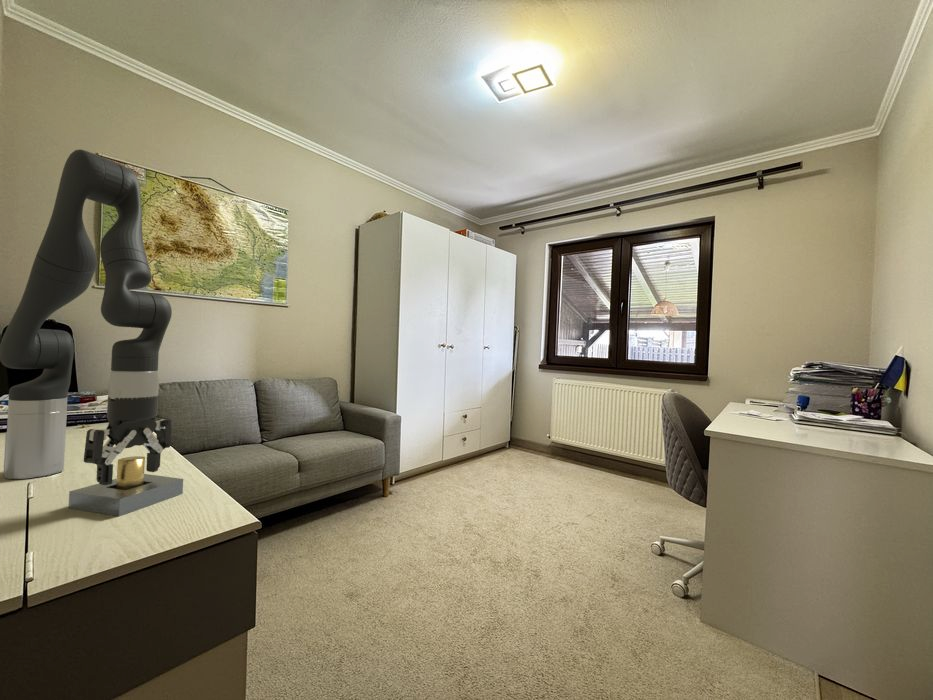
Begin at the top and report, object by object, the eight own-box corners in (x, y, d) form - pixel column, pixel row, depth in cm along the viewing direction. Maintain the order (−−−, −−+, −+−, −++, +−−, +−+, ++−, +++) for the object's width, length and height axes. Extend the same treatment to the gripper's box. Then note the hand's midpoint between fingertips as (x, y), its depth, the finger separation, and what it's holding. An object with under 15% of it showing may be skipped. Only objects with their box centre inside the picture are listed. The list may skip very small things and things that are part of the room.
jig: (68, 507, 72) (69, 491, 72) (137, 487, 84) (137, 472, 84) (119, 516, 69) (119, 499, 69) (182, 493, 81) (183, 478, 81)
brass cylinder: (109, 502, 75) (112, 460, 75) (131, 495, 79) (134, 455, 79) (126, 505, 74) (128, 462, 74) (147, 498, 78) (150, 457, 78)
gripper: (155, 390, 84) (151, 466, 84) (75, 396, 71) (71, 487, 70) (183, 392, 83) (179, 469, 83) (107, 398, 69) (103, 491, 69)
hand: (129, 477), depth 76 cm, fingers open, 8 cm apart
